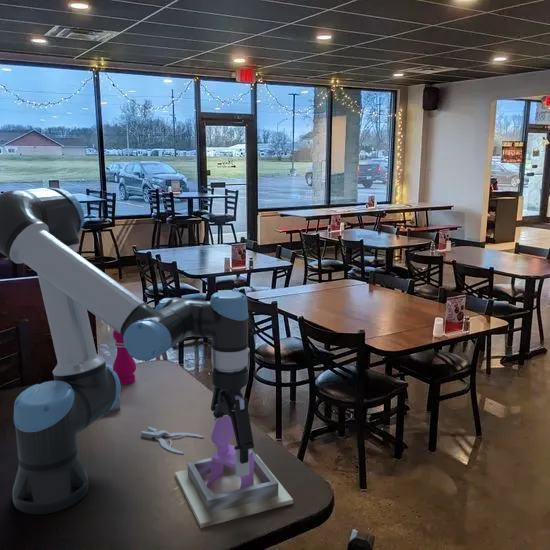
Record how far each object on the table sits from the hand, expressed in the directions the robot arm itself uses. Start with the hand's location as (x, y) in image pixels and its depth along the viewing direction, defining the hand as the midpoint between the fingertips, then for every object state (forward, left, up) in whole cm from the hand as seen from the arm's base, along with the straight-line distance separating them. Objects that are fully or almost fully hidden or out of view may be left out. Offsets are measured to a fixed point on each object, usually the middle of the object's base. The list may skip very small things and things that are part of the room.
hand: (231, 459), depth 122 cm
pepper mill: (-11, +71, -7) cm, 72 cm away
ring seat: (0, 0, -7) cm, 7 cm away
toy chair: (0, 0, -6) cm, 6 cm away
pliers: (-7, +27, -8) cm, 29 cm away
